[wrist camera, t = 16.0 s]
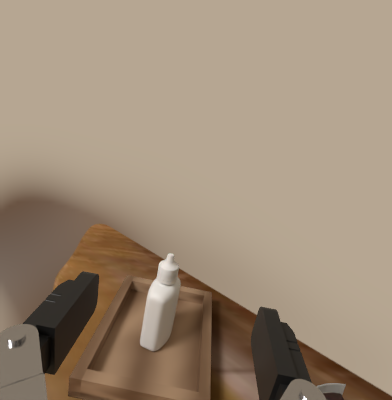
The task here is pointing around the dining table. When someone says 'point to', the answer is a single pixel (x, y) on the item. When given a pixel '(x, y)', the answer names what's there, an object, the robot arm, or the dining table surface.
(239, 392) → the dining table surface
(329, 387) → the food container
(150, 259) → the dining table surface
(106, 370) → the walnut tray
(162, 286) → the eye dropper bottle
